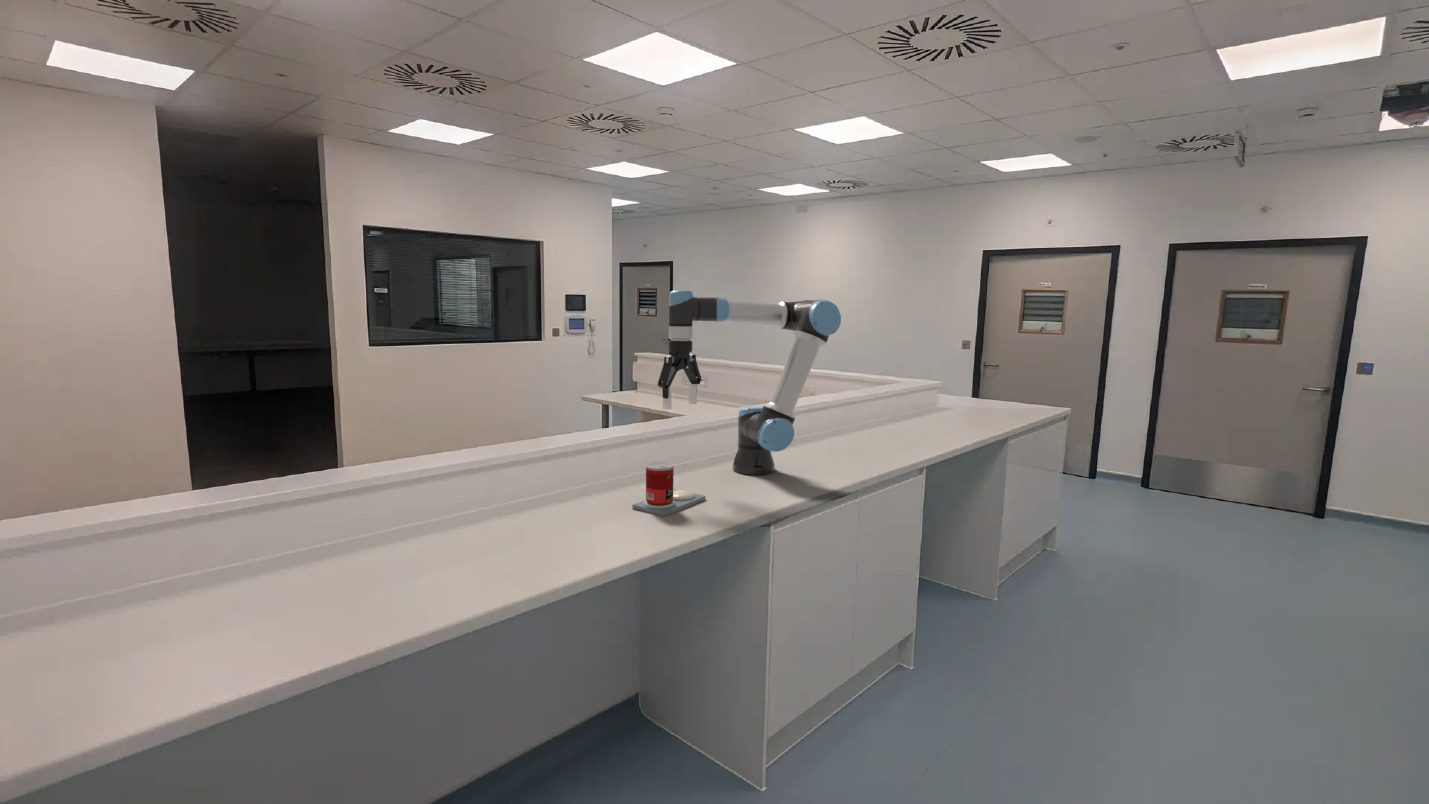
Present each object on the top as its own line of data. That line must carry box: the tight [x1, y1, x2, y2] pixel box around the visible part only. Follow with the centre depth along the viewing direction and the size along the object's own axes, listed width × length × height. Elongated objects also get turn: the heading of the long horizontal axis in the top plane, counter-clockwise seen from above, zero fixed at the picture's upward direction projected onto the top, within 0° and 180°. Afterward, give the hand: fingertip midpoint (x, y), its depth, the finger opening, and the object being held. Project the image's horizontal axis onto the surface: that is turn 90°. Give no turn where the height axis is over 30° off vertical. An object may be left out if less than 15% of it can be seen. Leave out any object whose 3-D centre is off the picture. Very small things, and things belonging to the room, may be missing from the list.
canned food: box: [645, 462, 675, 506], centre depth 189 cm, size 8×8×11 cm
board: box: [631, 489, 707, 517], centre depth 194 cm, size 20×12×2 cm, turn 146°
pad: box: [643, 500, 675, 509], centre depth 189 cm, size 9×9×1 cm
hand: (680, 406), depth 209 cm, fingers open, 13 cm apart
